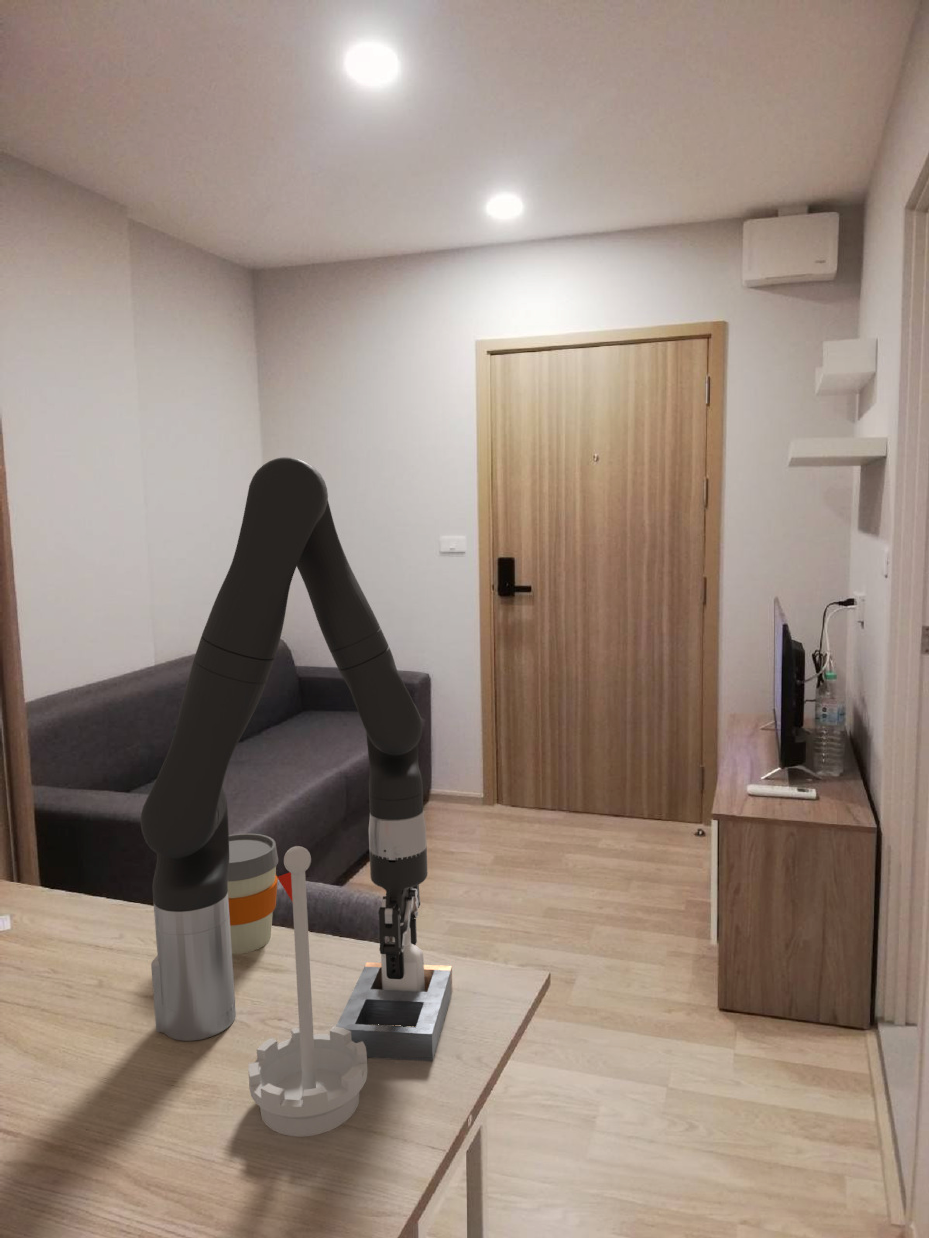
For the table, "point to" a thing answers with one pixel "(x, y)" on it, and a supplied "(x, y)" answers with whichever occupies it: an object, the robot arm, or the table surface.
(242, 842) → the reusable coffee cup
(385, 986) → the eye dropper bottle
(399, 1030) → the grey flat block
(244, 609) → the robot arm
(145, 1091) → the table surface
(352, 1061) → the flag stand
